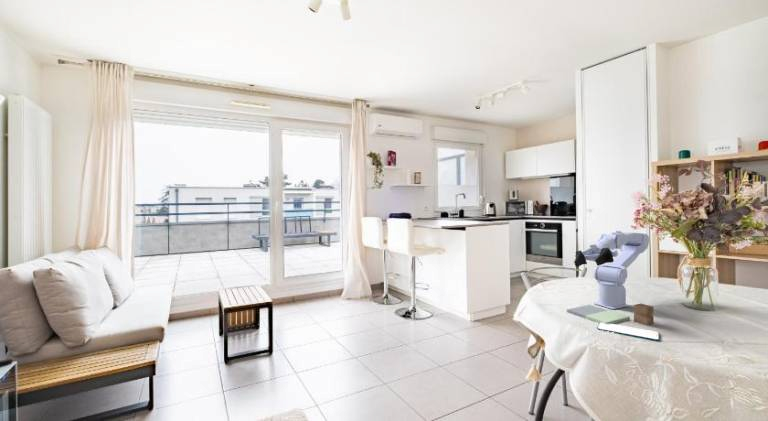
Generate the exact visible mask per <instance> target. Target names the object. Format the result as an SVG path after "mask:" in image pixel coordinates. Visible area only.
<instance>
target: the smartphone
mask: <svg viewBox="0 0 768 421" xmlns="http://www.w3.org/2000/svg"><path fill="white" fill-rule="evenodd" d="M597 330H598V331H602V330H603V331H602V332H607V331H609V332H608V333H612V332H614V333H613V334H617V333H618V334H617V335H623V336H628V337H633V338H638V339H644V340H649V341H652V342H653V341H654V342H660V332H659V331H656V330H652V329H646V328H640V327H634V326H627V325H622V324H617V323H613V324H611V323H608V324H604V323H601V322H600V323H598V326H597Z"/></svg>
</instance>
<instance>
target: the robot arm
mask: <svg viewBox="0 0 768 421" xmlns="http://www.w3.org/2000/svg"><path fill="white" fill-rule="evenodd" d="M649 236H650V235H648V233H640V232H628V231H624V232H623V231H621V230H616V231H615V232H611V233H601V235H600V236H599V239H598V241H597V242H596V243H594V244H593V243H591V244H590V245H589V248H587V249H585V250H584V251H582V250H577V251H575V254H574V257H575V259H574V261H573V264H574V265H575V267H576V268H577V267H578V268H579V267H580V266H582V265H587V264H588V263H587V261H591V262H593V263H594V262H595V264H596V265H597V266H596V267H595V268H594V271H593V278H594V279H595V280H596V281H597V283H598V301H595V302H593V304H594V305H598V306H600V307H604V308H608V309H609V310H611V309H612V310H616V309H620V308H621V309H622V308H624V307H625V308H626V307H628V306H629V305H628V304H627V302H626V301H627V300H626V299H627V298H626V296H627V295H626V294H627V293H626V292H627V291H626V287H625V285H624V284H625V283H626V280H627V278H628V270H627V269H628V268H629V267H630V266H631V265H632V264H633V263H634V262H635V261H636V260H637V258H638V257H639V256H640V254H643V253H644V252H646V250H647V249H648V248H649V243H650V237H649ZM618 250H619V251H620V252H621V253H620V254H619V252H618ZM614 258H615V259H614Z"/></svg>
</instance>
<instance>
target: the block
mask: <svg viewBox="0 0 768 421" xmlns="http://www.w3.org/2000/svg"><path fill="white" fill-rule="evenodd" d="M654 309H655V306H652V305H650V304H649V305H648V304H645V303H638V304H634V305H633V322H634V323H637V324H639V325H642V326H650V325H653V324H654V320H655V319H654V318H655V314H654Z"/></svg>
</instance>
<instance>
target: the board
mask: <svg viewBox="0 0 768 421" xmlns="http://www.w3.org/2000/svg"><path fill="white" fill-rule="evenodd" d="M566 313H569V314H571V315H574V316H577V317H579V318H580V317H581V318H583V319H586V320H589V321H592V322H595V323H598V324H599V323H600V322H601V323H604V324H608V323H611V324H617V323H620V322H625V321H627V320H630V316H628V315H626V314H622V313H619V312H616V311H612V310H610V309H605V308H601V307H599V306H595V305H591V304H587V305H583V306H577V307H573V308H568V309H566Z"/></svg>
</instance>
